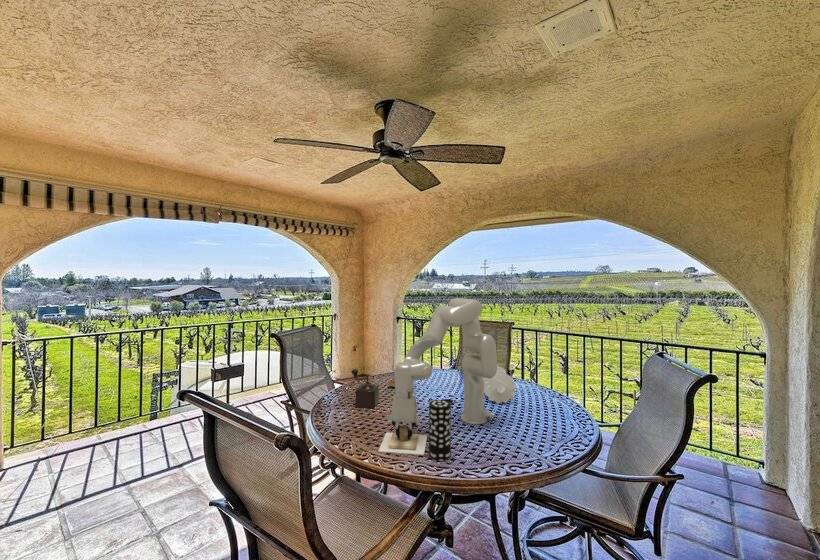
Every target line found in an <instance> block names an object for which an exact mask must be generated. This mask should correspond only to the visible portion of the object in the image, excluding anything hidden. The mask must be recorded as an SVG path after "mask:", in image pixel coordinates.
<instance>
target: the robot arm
mask: <svg viewBox="0 0 820 560" xmlns="http://www.w3.org/2000/svg"><path fill="white" fill-rule="evenodd" d="M482 312H483V306H482V303H481V302H480V301H479V300H477V299H475V298H473V299H472V298H462V297H456V298H452V299H451V300H450V301H449V303H448V305H447V306H446V305H441V306H439V307H436V309H435V310H434V313H433V315H432V317H431V319H430V321H429V323H428V325H427V328H426V330H425V331H424V334H423V335H422V336H420V337H419V338H418V339H417V340H416V341H415V342H413V344H412V345H411V346H410V348H409V349H408V351H407V353H406V355H405V357H404V360H403V362H401V361H400V362H401V363H398V362H397V363H398V364H397V363H396V364H395V366H394V380H395V387H394V395H393V396H392V397H393V398H392V403H391V404H392V405H391V413H390V415H389V416H388V418H387V422H389V423H390V424H391V425H392V426H393V427H394V429H395V432H396V436H397V439H399V426H400V423H407V424H408V426H409V429H408V439H409V440H410V437H412V434H413V429H414V427H415V426H417V425H418V424H421V422H422V421H421V420H422V419H421V418H420V417H419V415H418V412H417V411H418V410H417V398H416V396H415V395H417V394H418V393H417V392H418V391H417V390H414V381H425V380H428V379H429V378H430V377H431V376H432V374H433V368H432V364H430V363H428V362H427V361H424V360H421V357H422V355H423V354H424V353H425V352H427V350H430V349H431V348H434V347H437V346H439V345H441V344H442V343H443V340H444V339H445V336H446V334H447V333H448V330H449V327H453V328H458V327H461V328H462V329H461V330H462V339H463V340H462V341H463V347H464V349H465V350H466V351H468V352H470V353H467V354H465V355H464V356H463V357H462V361H461V365H462V366H461V367H462V368H461V369H462V372H463V413H461V415H460V420H461V421H462V422H463V423H466V424H470V425H483V424H485V423H487V422H488V418H495V413H494V412H491V411H486V410H485V393H484V380H483V377H484V378H493V377H494V376H495V374H496V372H497V365H498V355H497V353H498V352H497V343H496V341H495V339H494V337H493V336H491V334H487V333H482V331H481V322H480V319H479V317H480V316H481V314H482Z"/></svg>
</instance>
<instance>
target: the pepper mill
mask: <svg viewBox="0 0 820 560" xmlns="http://www.w3.org/2000/svg"><path fill="white" fill-rule="evenodd" d="M358 373H359V370H358V368H353V369H352V370H351V374H352V377H353V378H354V380H355V381H365V380H366V383H365V384H363V383H362V384H360V385H359V386H358V387H357V389H356V390H355V409H361V408H366V409H365V410H374V409H376V408H377V406H378V405H377V404H379V401H380V399H379V395H380V394H379V393H380V392H379V391H380V390H379V388H380V387H379V386H380V385H378V384H377V385H375V384H373V383H371V382H370V381H369V378H370V377H369V374H366V375H365V376H366V377H362V378H358V377H359V375H358ZM375 407H376V408H375Z"/></svg>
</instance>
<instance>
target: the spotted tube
mask: <svg viewBox="0 0 820 560" xmlns="http://www.w3.org/2000/svg"><path fill="white" fill-rule="evenodd" d="M451 410H452V404H451V402H450V401H448V400H445V399H433V400H430V401H429V402H428V456H429V458H430V459H432V460H434V461H436V460H437V461H438V462H443V461H447V460H449V459H450V458H451V451H452V448H451V443H452V442H451V441H452V439H451V435H452V433H451V426H452V425H451V422H452V421H451V420H452V419H451V418H452V417H451V415H452V414H451V413H452V412H451Z"/></svg>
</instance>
